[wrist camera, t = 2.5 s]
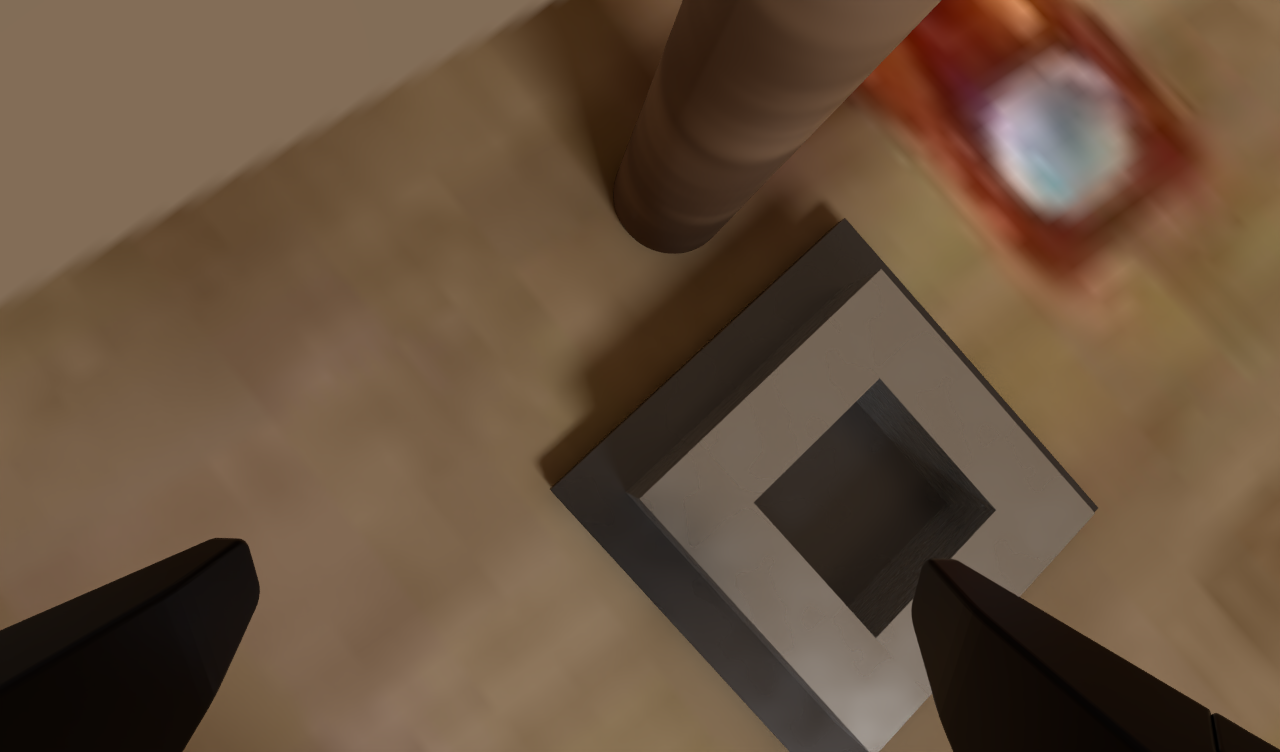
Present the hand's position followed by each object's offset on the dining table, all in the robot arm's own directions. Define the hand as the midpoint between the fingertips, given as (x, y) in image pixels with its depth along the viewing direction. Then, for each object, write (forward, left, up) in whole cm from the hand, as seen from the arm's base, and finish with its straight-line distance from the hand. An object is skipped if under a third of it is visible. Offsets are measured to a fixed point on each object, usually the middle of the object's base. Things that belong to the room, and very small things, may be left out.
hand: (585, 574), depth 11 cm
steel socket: (-6, -6, -12) cm, 15 cm away
